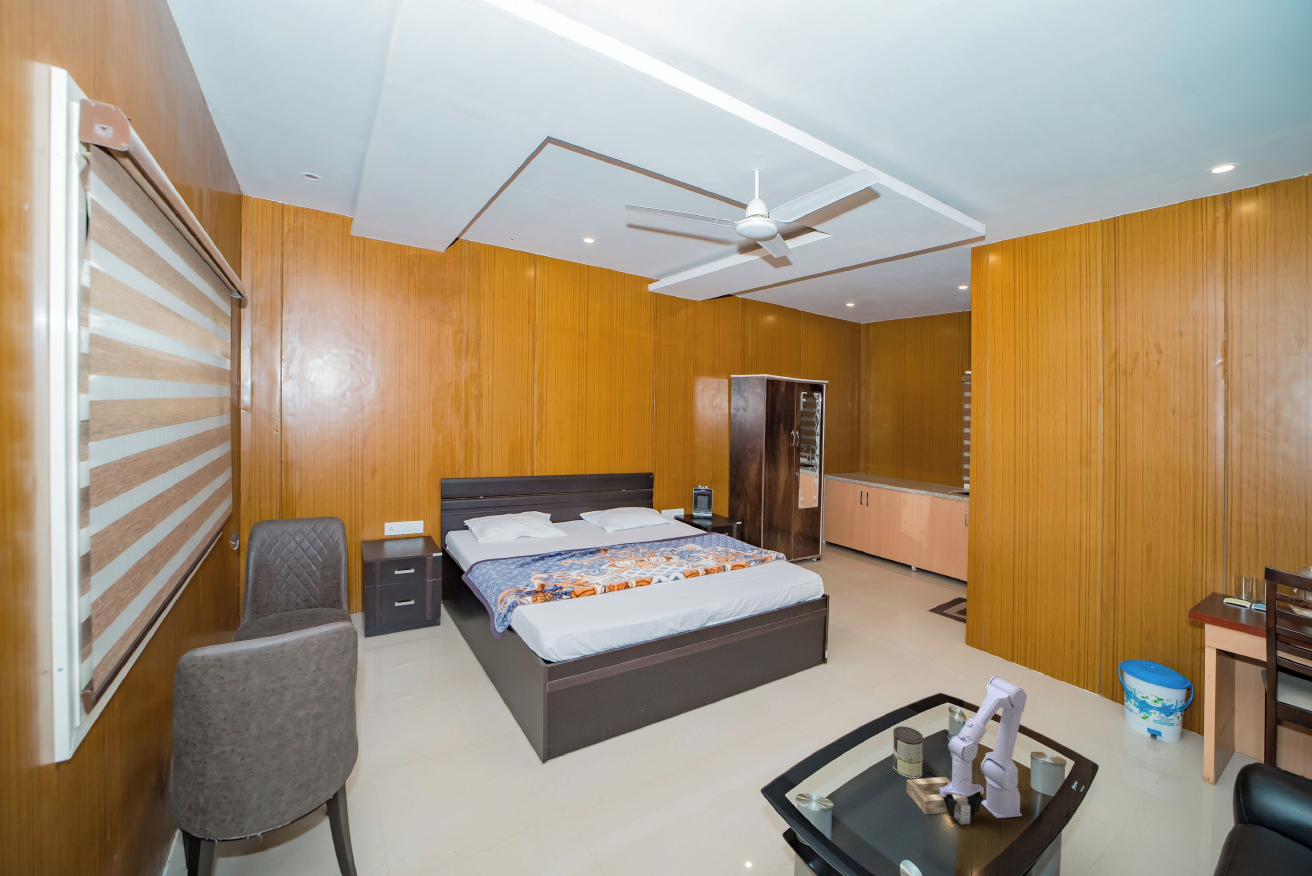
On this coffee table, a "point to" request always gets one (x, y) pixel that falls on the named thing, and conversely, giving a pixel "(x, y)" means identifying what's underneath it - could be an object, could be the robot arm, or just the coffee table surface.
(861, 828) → the coffee table surface
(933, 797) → the tan wooden rectangular frame
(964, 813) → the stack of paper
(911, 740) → the coffee can
